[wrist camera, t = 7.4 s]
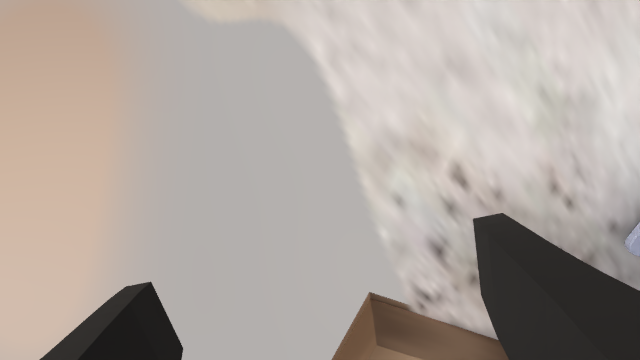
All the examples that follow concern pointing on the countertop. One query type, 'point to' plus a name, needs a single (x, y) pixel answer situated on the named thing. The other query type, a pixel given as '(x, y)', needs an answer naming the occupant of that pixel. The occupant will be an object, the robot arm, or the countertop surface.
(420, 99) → the countertop surface
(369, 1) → the countertop surface
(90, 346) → the robot arm
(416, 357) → the walnut box
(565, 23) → the countertop surface
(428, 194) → the countertop surface
